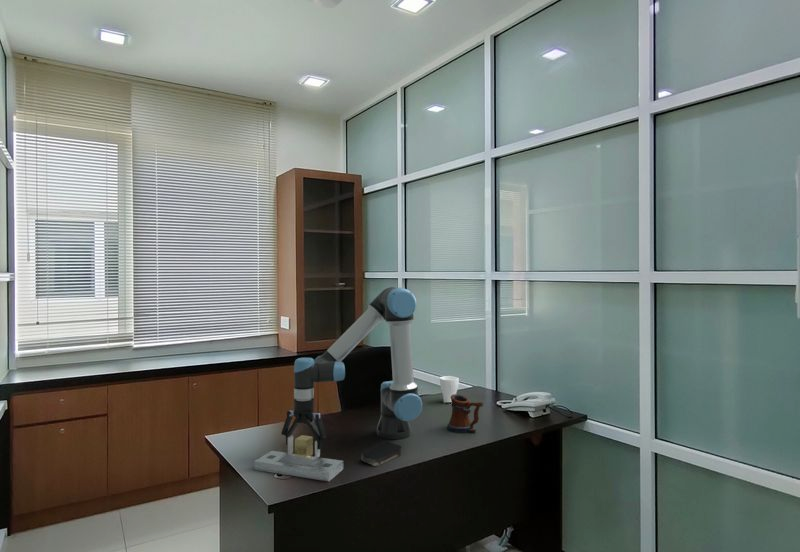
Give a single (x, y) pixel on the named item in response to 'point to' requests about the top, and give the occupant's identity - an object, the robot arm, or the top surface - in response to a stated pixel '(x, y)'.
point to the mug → (462, 414)
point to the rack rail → (299, 465)
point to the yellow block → (304, 445)
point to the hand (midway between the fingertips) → (303, 455)
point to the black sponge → (381, 453)
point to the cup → (448, 387)
